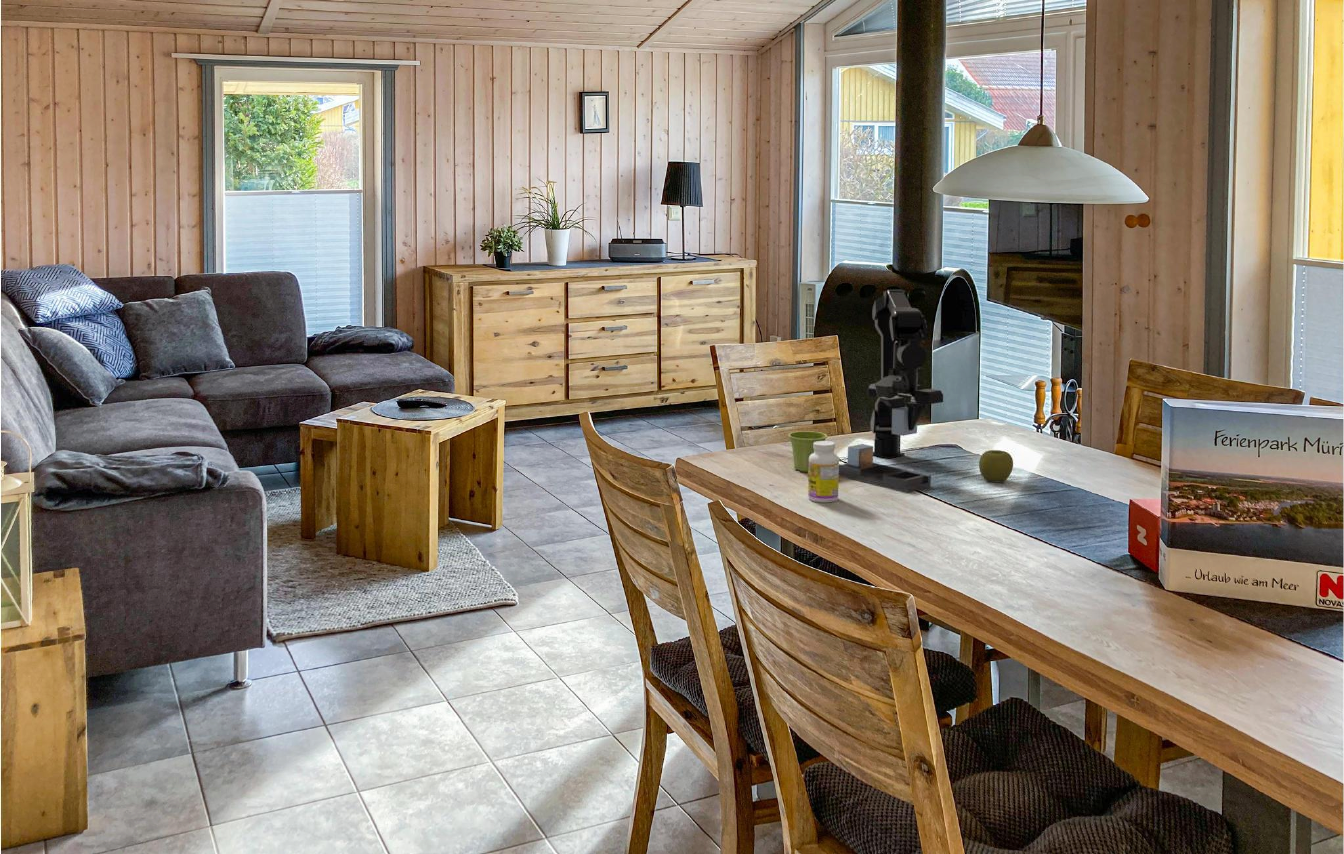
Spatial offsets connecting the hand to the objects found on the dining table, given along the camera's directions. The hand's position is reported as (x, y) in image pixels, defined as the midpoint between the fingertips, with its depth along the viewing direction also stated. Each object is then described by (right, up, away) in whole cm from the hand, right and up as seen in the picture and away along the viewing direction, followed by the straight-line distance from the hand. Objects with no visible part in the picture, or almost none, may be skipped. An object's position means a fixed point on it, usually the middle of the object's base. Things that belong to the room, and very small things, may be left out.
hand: (903, 429), depth 285 cm
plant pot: (-22, -10, +10) cm, 26 cm away
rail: (-6, -12, -3) cm, 14 cm away
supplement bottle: (-22, -16, -19) cm, 33 cm away
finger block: (0, -1, 0) cm, 1 cm away
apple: (+21, -13, -3) cm, 24 cm away
